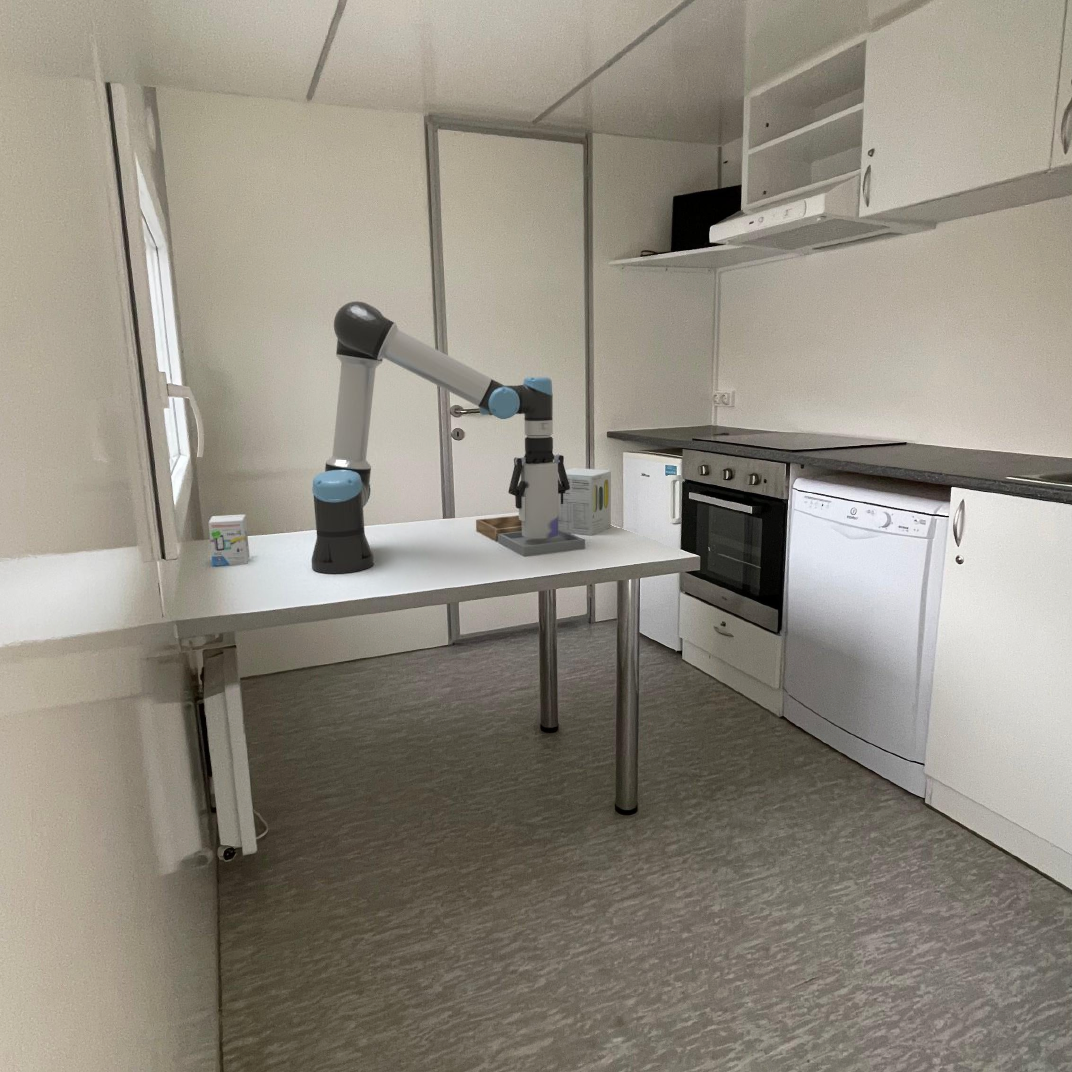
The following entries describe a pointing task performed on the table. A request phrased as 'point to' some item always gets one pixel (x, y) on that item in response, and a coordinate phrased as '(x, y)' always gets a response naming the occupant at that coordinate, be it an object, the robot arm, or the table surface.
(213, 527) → the ink box
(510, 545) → the tray
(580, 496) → the supplement box
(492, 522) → the frame
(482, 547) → the table surface
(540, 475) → the container
